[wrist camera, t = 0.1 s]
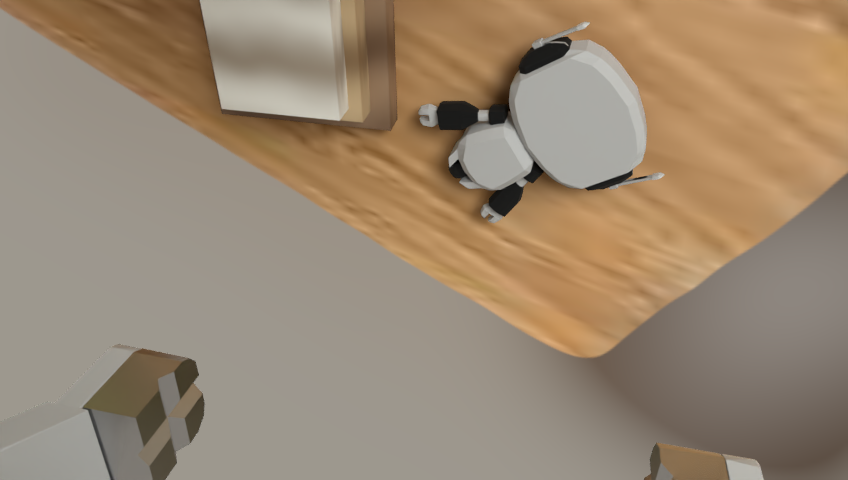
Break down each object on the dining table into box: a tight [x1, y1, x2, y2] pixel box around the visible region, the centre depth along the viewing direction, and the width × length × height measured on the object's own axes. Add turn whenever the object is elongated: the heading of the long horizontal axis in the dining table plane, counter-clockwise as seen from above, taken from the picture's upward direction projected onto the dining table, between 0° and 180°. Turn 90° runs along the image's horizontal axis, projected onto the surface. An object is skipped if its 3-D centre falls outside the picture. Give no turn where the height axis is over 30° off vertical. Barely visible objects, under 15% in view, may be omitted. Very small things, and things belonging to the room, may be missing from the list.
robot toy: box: [419, 22, 665, 223], centre depth 48 cm, size 12×4×15 cm
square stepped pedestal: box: [199, 0, 397, 131], centre depth 47 cm, size 14×14×6 cm
